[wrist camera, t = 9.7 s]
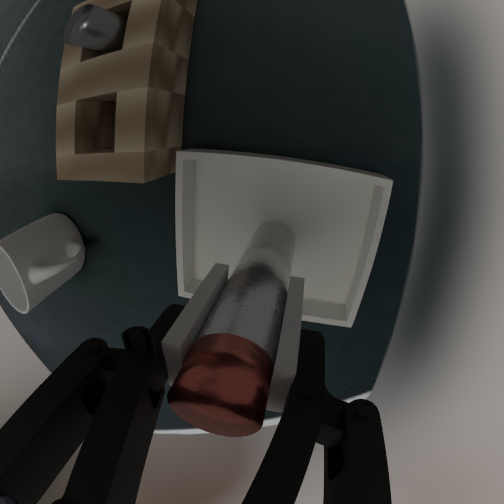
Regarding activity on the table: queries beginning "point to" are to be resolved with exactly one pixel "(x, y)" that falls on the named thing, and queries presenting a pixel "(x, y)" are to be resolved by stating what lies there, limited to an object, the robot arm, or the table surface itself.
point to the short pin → (95, 29)
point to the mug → (39, 260)
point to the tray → (287, 212)
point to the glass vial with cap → (239, 341)
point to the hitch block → (126, 96)
